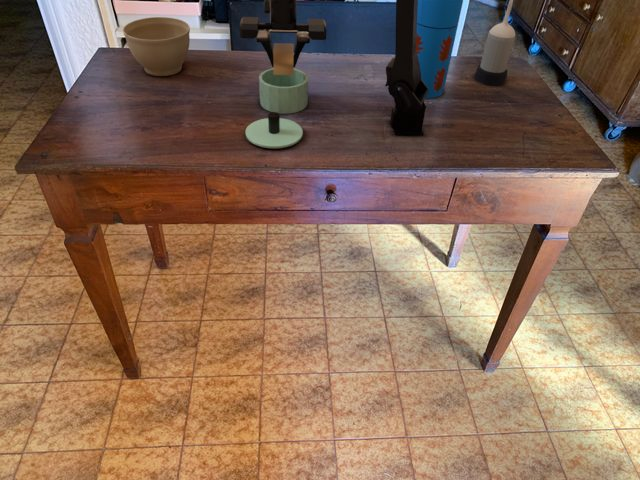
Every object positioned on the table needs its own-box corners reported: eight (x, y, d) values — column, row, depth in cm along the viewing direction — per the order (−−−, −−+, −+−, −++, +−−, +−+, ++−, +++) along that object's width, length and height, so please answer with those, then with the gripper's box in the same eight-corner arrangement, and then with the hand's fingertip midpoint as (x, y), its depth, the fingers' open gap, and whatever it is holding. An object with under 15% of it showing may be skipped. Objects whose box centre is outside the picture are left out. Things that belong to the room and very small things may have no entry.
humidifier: (502, 74, 140) (530, -24, 123) (507, 86, 134) (538, -15, 117) (472, 71, 140) (497, -27, 124) (476, 84, 134) (502, -18, 118)
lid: (302, 122, 115) (302, 101, 111) (303, 151, 105) (303, 129, 102) (247, 121, 114) (246, 100, 111) (243, 150, 105) (242, 128, 101)
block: (293, 67, 118) (293, 43, 115) (293, 75, 115) (293, 51, 111) (274, 66, 118) (273, 43, 114) (273, 74, 115) (273, 50, 111)
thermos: (442, 82, 134) (463, -20, 118) (445, 99, 126) (469, -7, 110) (401, 78, 135) (417, -24, 118) (402, 96, 127) (419, -11, 110)
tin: (306, 92, 126) (307, 67, 122) (308, 114, 118) (308, 88, 114) (261, 91, 126) (260, 66, 121) (259, 113, 117) (258, 87, 113)
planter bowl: (120, 77, 129) (110, 34, 121) (150, 54, 140) (143, 13, 133) (178, 86, 126) (171, 42, 119) (204, 62, 138) (199, 21, 131)
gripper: (325, -16, 112) (322, 54, 122) (241, -18, 111) (245, 52, 121) (328, -1, 104) (324, 72, 114) (237, -3, 103) (242, 71, 113)
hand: (283, 66), depth 116 cm, fingers closed on block, 4 cm apart
